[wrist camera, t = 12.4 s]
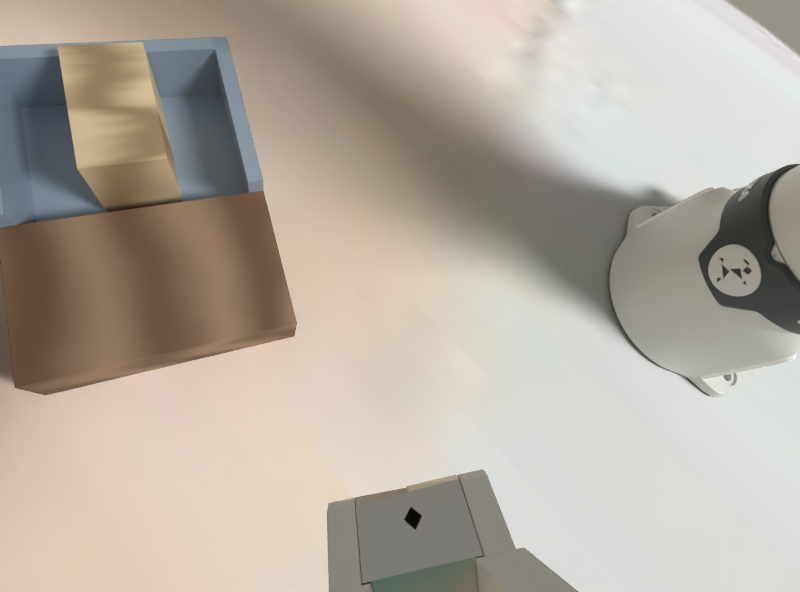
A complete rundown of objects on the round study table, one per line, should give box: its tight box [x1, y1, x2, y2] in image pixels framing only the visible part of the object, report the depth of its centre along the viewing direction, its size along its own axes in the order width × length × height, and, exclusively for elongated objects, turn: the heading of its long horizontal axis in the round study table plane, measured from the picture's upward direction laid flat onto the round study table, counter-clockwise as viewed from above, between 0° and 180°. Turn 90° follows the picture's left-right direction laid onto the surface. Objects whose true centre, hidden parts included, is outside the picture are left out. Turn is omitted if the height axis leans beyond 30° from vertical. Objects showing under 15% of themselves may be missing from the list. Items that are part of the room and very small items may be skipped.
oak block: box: [57, 42, 183, 212], centre depth 33 cm, size 5×6×9 cm
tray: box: [0, 37, 263, 227], centre depth 34 cm, size 16×12×6 cm
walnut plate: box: [0, 191, 297, 395], centre depth 33 cm, size 16×10×4 cm, turn 107°
